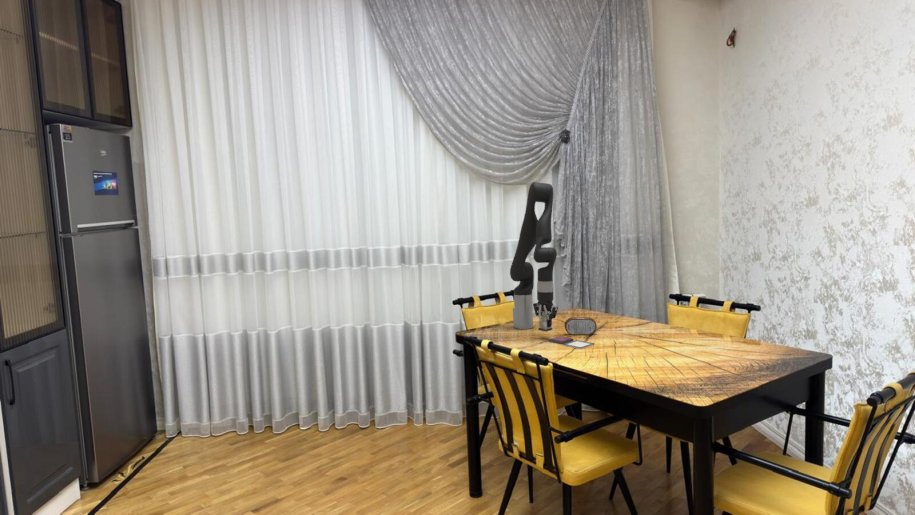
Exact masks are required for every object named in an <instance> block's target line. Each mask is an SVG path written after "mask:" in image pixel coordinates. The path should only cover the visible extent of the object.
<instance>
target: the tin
mask: <svg viewBox="0 0 915 515" xmlns="http://www.w3.org/2000/svg"><path fill="white" fill-rule="evenodd" d="M564 329H565V331H566V333H567V334H569V335H572V336H591V335H593V334H594V333H595V332H596V330H597V322H596V320H595V319H594V318H593V317H590V316H571V317H568V318H567V319H566V320H565V322H564Z"/></svg>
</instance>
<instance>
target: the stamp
mask: <svg viewBox="0 0 915 515" xmlns="http://www.w3.org/2000/svg"><path fill="white" fill-rule="evenodd" d="M549 317H550V315H549ZM538 324H539V327H538V328H537V329H538V331H541V332H550V331H552V330H553V327H552V326H551V327H547V315H546V314H545V312H544V311H543V312H542V315H540V316H539V317H538Z"/></svg>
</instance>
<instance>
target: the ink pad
mask: <svg viewBox="0 0 915 515" xmlns="http://www.w3.org/2000/svg"><path fill="white" fill-rule="evenodd" d="M572 341H575V340H574V338H572V337H567V336H562V335H558V336H555V337H552V338H550V339H548V342H549V343H553V344H558V345H563V344H565V343H568V342H572Z"/></svg>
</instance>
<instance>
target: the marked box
mask: <svg viewBox="0 0 915 515" xmlns="http://www.w3.org/2000/svg"><path fill="white" fill-rule="evenodd" d="M594 345H596V344H595V343H594V342H589V341H584V340H580V339H575V340H574V341H572V342H568V343H565V344H562V346H565V347H569V348H574V349H578V350H583V349H586V348H589V347H592V346H594Z"/></svg>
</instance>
